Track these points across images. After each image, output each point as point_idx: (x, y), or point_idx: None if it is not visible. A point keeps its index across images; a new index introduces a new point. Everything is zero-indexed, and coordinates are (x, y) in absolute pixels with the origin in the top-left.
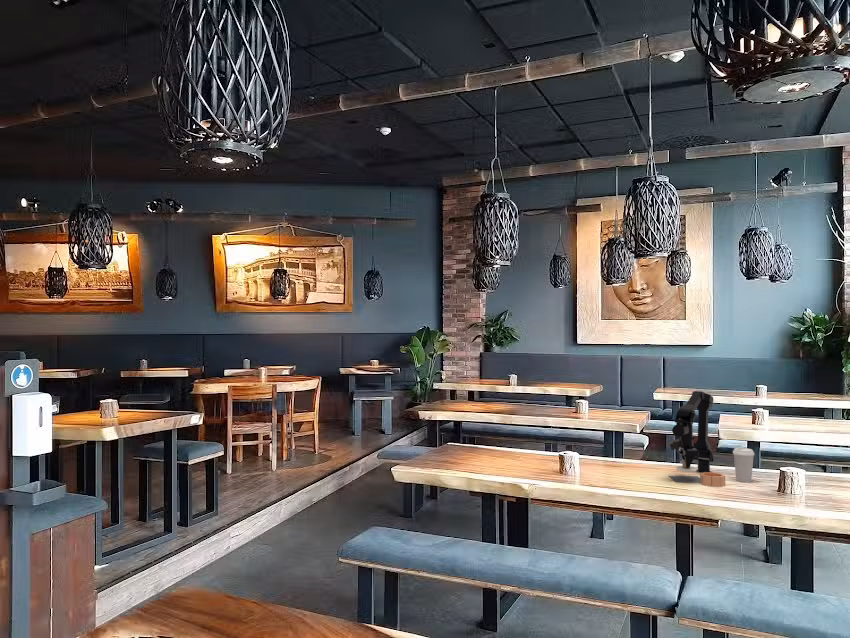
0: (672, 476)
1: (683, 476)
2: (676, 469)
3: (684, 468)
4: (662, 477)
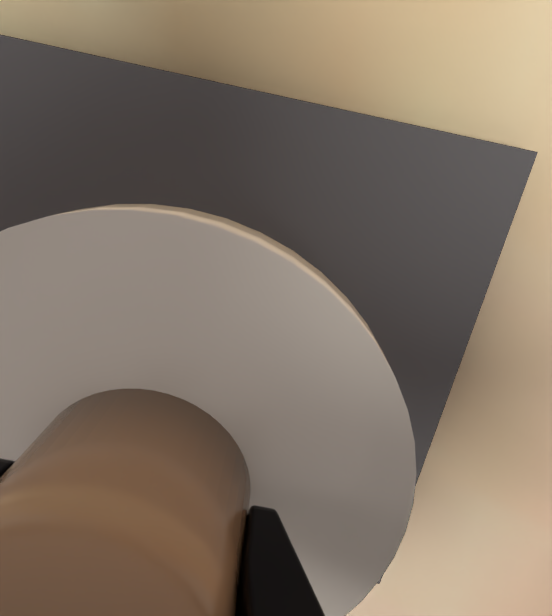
0: (448, 217)
1: (407, 405)
2: (228, 220)
3: (73, 406)
4: (513, 17)
